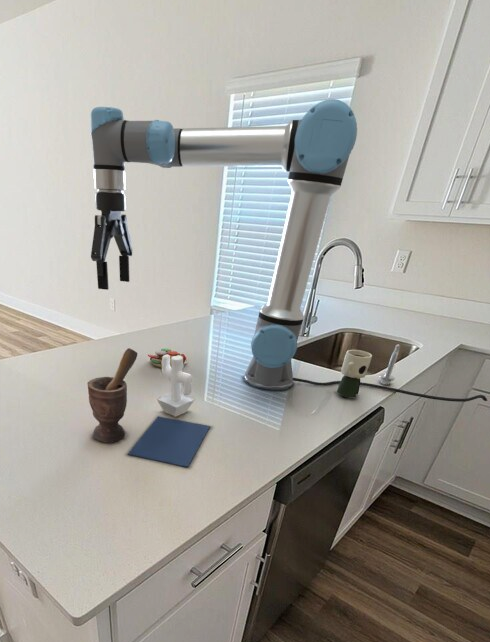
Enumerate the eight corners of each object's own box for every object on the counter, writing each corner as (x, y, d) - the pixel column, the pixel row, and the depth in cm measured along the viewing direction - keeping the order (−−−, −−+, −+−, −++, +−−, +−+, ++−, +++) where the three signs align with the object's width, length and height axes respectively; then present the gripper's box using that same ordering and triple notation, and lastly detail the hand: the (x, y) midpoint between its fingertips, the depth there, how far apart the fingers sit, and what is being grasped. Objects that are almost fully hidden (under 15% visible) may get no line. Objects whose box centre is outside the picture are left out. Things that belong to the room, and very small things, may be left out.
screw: (378, 385, 132) (375, 379, 136) (393, 387, 131) (390, 381, 135) (392, 345, 125) (389, 341, 128) (409, 347, 124) (405, 342, 128)
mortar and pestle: (116, 419, 104) (112, 340, 92) (142, 429, 100) (142, 348, 88) (84, 436, 96) (76, 353, 84) (112, 448, 92) (107, 362, 80)
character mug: (349, 404, 119) (363, 360, 111) (327, 396, 122) (339, 353, 115) (365, 394, 125) (379, 352, 118) (343, 387, 129) (355, 346, 121)
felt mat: (209, 427, 103) (209, 426, 102) (187, 467, 87) (187, 466, 87) (158, 417, 106) (158, 416, 105) (127, 454, 90) (127, 453, 90)
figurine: (178, 421, 104) (181, 365, 95) (153, 409, 109) (153, 355, 100) (196, 413, 109) (201, 358, 100) (171, 402, 114) (173, 349, 105)
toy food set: (173, 373, 132) (173, 363, 130) (140, 364, 137) (140, 355, 136) (193, 362, 142) (194, 353, 140) (162, 354, 147) (162, 345, 145)
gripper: (118, 192, 111) (121, 277, 123) (70, 189, 92) (80, 291, 104) (143, 193, 109) (143, 279, 121) (100, 191, 90) (106, 294, 102)
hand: (114, 285), depth 113 cm, fingers open, 13 cm apart
